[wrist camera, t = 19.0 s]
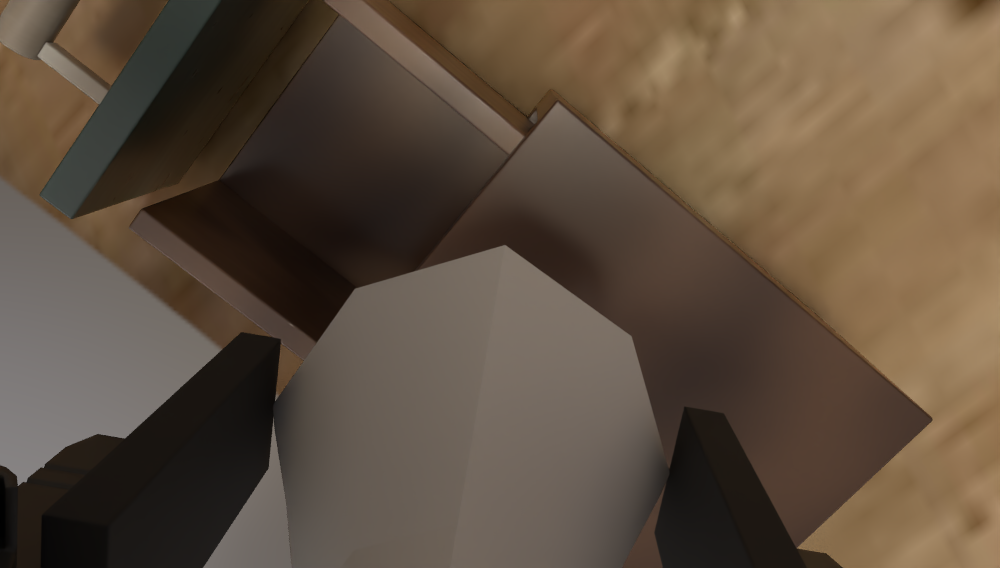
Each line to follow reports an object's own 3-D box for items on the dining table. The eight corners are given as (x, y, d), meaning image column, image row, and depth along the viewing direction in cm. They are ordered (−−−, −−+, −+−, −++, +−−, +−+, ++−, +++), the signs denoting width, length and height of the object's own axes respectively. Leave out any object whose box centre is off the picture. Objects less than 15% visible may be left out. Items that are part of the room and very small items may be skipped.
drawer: (46, 81, 32) (-106, 87, 25) (213, -178, 30) (101, -261, 22) (423, 373, 35) (391, 461, 27) (607, 157, 32) (630, 187, 24)
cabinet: (355, 327, 35) (289, 424, 26) (550, 88, 32) (557, 98, 23) (618, 530, 37) (647, 689, 28) (824, 321, 34) (934, 419, 25)
